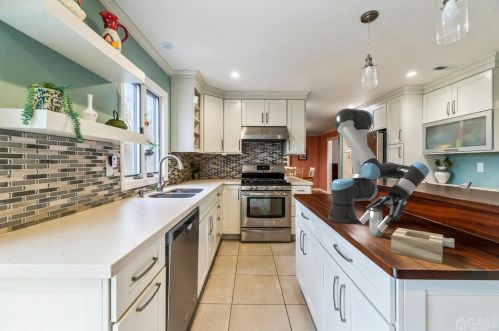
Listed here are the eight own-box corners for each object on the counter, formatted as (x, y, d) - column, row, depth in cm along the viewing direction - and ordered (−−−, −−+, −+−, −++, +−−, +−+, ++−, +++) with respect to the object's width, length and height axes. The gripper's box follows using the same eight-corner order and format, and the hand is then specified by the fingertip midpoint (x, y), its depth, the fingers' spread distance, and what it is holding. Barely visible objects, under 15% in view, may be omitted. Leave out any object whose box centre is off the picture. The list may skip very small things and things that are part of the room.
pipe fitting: (428, 242, 96) (427, 245, 90) (428, 232, 96) (427, 235, 91) (453, 246, 90) (454, 250, 85) (453, 236, 91) (454, 239, 85)
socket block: (397, 242, 93) (397, 227, 93) (442, 251, 84) (442, 234, 84) (391, 252, 82) (391, 235, 82) (441, 263, 73) (442, 245, 73)
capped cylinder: (370, 233, 105) (370, 207, 105) (383, 235, 102) (383, 208, 102) (367, 235, 101) (368, 208, 101) (380, 238, 98) (380, 210, 98)
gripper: (430, 200, 92) (396, 240, 90) (386, 193, 116) (358, 224, 113) (419, 187, 91) (384, 227, 89) (377, 182, 115) (349, 214, 113)
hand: (370, 225), depth 101 cm, fingers open, 11 cm apart
